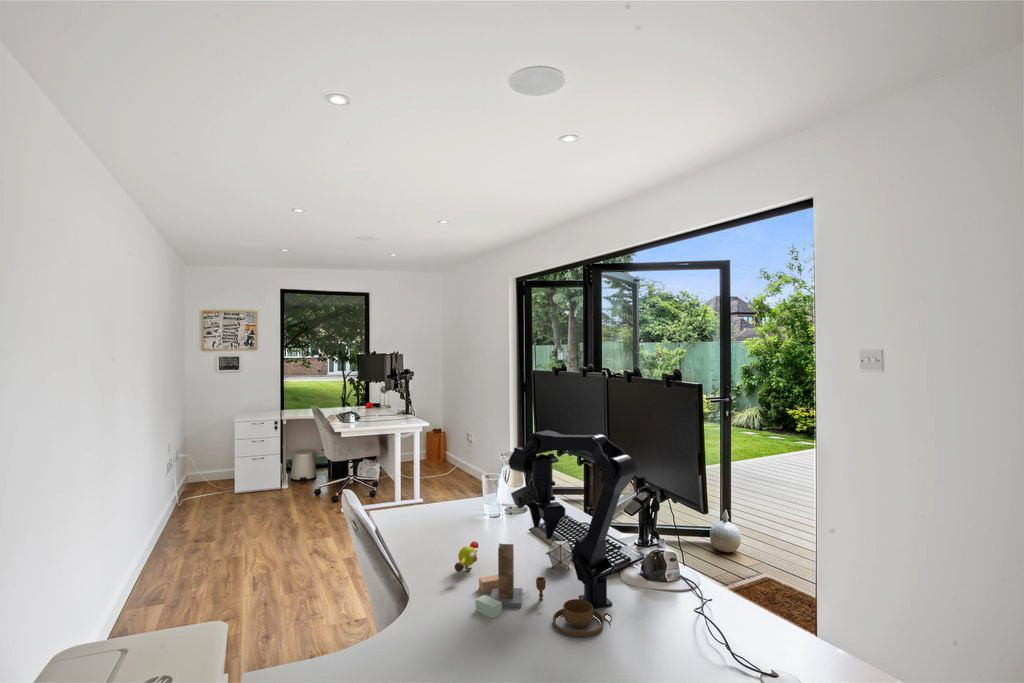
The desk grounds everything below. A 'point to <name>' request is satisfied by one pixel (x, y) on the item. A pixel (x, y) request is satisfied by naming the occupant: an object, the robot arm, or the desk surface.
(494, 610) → the sage brick
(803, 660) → the desk surface
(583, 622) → the place setting
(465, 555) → the toy figure
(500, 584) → the walnut block
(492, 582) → the terracotta brick
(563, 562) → the game die
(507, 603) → the slate coaster
